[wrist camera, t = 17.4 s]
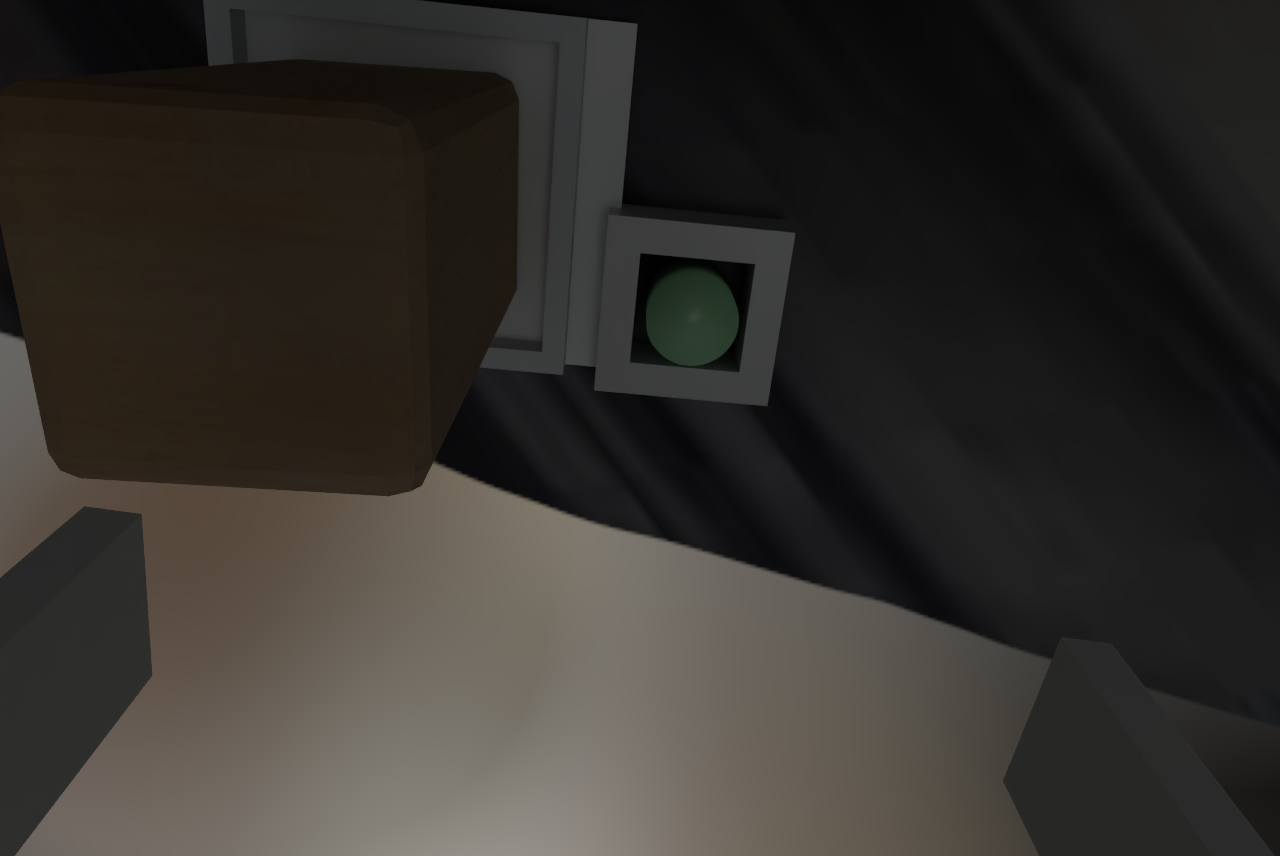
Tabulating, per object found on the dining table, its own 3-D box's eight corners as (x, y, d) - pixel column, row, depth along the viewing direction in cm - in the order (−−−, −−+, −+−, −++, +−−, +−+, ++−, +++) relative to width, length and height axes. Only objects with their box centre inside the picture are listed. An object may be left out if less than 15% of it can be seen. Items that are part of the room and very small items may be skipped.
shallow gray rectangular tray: (229, -19, 38) (201, -23, 36) (637, 24, 39) (637, 23, 36) (254, 327, 44) (231, 344, 42) (608, 359, 45) (606, 378, 42)
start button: (650, 254, 42) (650, 271, 39) (737, 262, 42) (745, 280, 39) (641, 337, 43) (641, 361, 40) (725, 345, 44) (732, 369, 41)
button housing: (610, 202, 42) (608, 214, 39) (785, 219, 42) (795, 232, 39) (597, 368, 45) (593, 390, 42) (759, 383, 45) (767, 406, 42)
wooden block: (281, 56, 38) (-53, 78, 20) (522, 73, 38) (412, 110, 20) (300, 291, 42) (37, 490, 24) (519, 305, 42) (424, 513, 24)
